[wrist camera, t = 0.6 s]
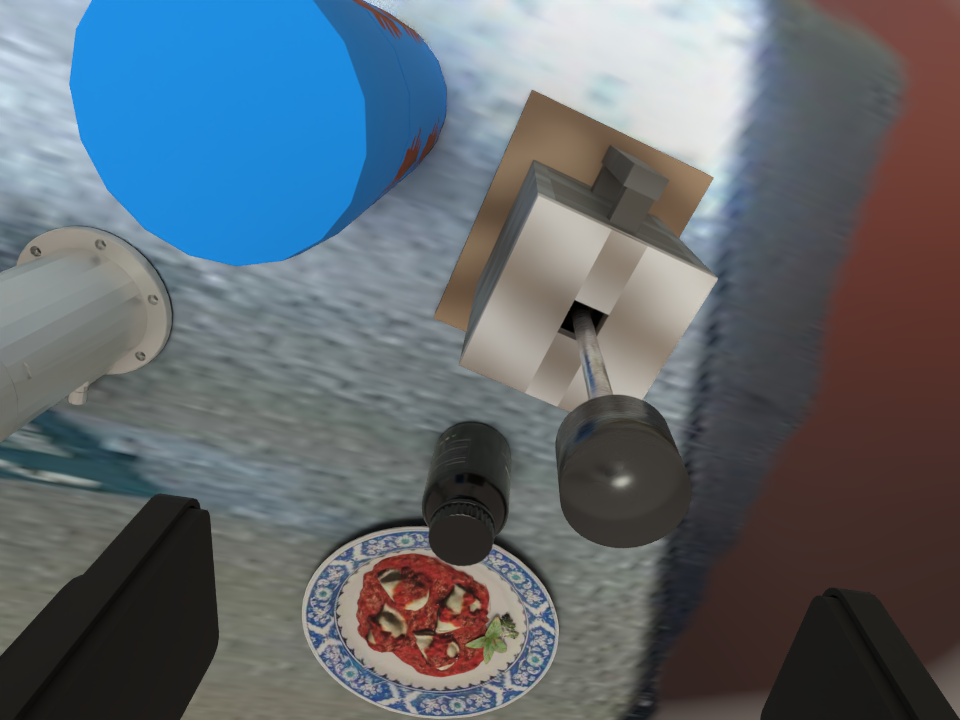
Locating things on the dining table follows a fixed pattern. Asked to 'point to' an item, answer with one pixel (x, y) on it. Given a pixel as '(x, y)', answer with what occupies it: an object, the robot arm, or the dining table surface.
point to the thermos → (252, 117)
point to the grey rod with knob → (617, 459)
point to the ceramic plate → (429, 626)
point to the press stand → (577, 258)
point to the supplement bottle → (467, 493)
